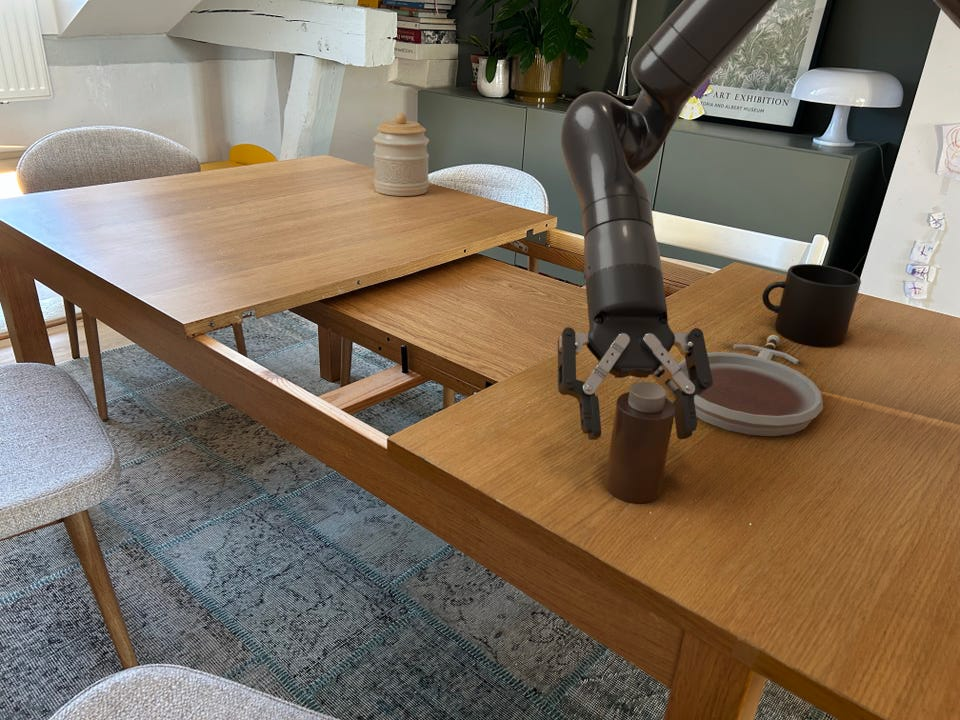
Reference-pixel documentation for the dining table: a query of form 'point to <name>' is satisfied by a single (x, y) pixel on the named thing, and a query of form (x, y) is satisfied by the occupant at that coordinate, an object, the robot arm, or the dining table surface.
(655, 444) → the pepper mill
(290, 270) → the dining table surface
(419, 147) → the jar
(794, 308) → the mug
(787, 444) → the dining table surface
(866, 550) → the dining table surface
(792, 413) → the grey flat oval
